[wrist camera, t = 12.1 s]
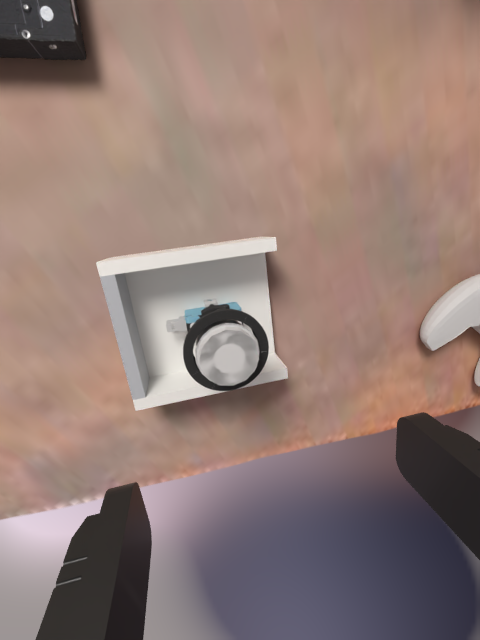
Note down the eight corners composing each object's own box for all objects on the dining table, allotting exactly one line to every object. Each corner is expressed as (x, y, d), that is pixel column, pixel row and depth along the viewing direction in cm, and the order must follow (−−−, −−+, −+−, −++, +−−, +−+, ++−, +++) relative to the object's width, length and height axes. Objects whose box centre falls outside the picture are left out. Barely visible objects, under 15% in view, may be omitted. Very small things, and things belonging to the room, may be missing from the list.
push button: (172, 350, 27) (169, 412, 18) (161, 292, 25) (150, 327, 16) (244, 337, 28) (276, 389, 19) (237, 281, 26) (269, 307, 17)
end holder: (260, 236, 27) (275, 237, 23) (272, 358, 30) (287, 378, 26) (110, 257, 25) (96, 262, 21) (142, 384, 28) (135, 410, 24)
